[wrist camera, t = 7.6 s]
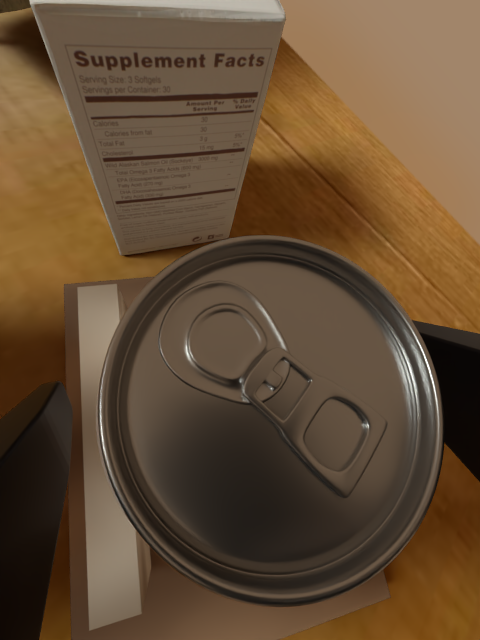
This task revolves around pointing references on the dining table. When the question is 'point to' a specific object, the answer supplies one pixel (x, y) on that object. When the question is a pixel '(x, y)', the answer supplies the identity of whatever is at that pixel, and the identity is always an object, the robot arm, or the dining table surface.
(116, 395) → the can
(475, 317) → the dining table surface
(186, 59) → the supplement box
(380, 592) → the slot block
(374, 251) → the dining table surface
